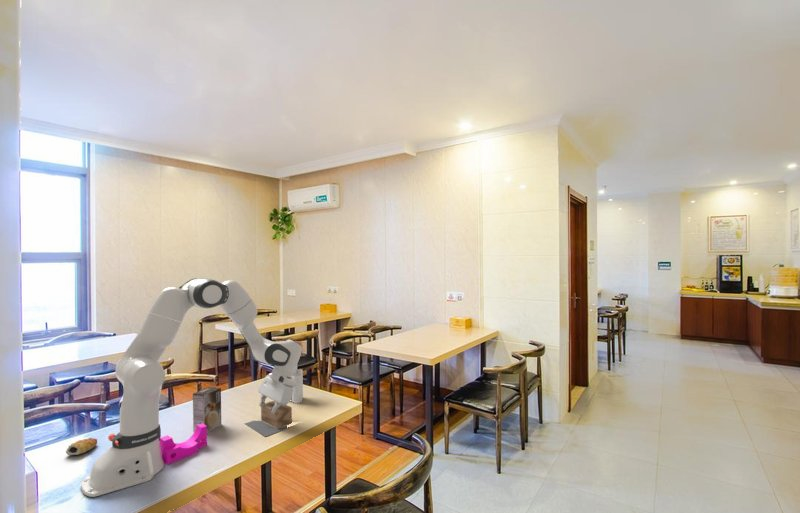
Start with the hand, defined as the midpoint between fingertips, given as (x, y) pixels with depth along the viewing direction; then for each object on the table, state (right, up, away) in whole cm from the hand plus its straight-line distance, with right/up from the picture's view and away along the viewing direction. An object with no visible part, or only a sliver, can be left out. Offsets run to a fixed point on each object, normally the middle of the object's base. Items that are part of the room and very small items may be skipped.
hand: (266, 409), depth 163 cm
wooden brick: (+3, -7, +3) cm, 8 cm away
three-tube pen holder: (+4, -7, +28) cm, 30 cm away
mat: (+6, -7, +7) cm, 12 cm away
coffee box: (-24, -8, -2) cm, 25 cm away
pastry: (-59, -8, -18) cm, 62 cm away
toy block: (-22, -8, -22) cm, 32 cm away
